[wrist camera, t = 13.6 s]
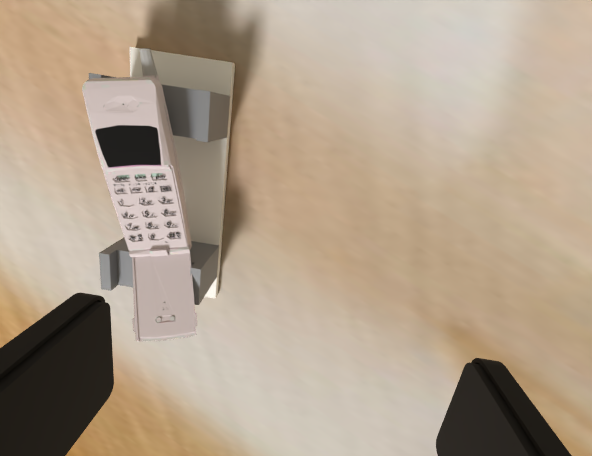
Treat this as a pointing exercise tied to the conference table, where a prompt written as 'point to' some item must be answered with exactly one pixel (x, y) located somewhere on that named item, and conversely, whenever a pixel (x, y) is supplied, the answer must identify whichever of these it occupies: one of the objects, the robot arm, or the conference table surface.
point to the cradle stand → (189, 161)
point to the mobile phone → (146, 197)
